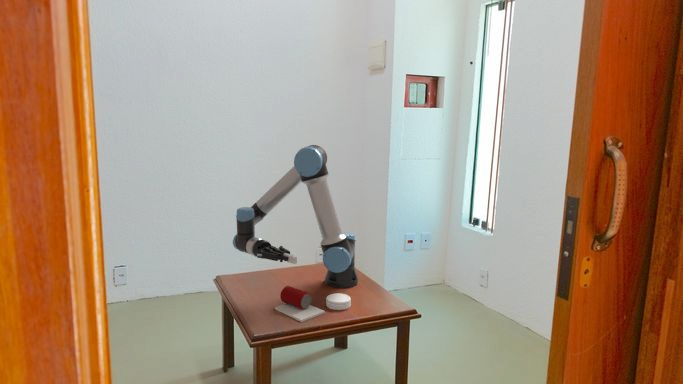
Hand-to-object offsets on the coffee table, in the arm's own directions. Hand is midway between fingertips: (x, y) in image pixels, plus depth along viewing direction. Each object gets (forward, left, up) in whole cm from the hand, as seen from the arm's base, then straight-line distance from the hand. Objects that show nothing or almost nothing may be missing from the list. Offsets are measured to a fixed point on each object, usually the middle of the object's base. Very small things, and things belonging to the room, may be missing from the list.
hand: (295, 260), depth 188 cm
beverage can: (+4, -7, -16) cm, 18 cm away
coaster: (-18, -2, -21) cm, 27 cm away
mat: (-2, +2, -20) cm, 20 cm away
